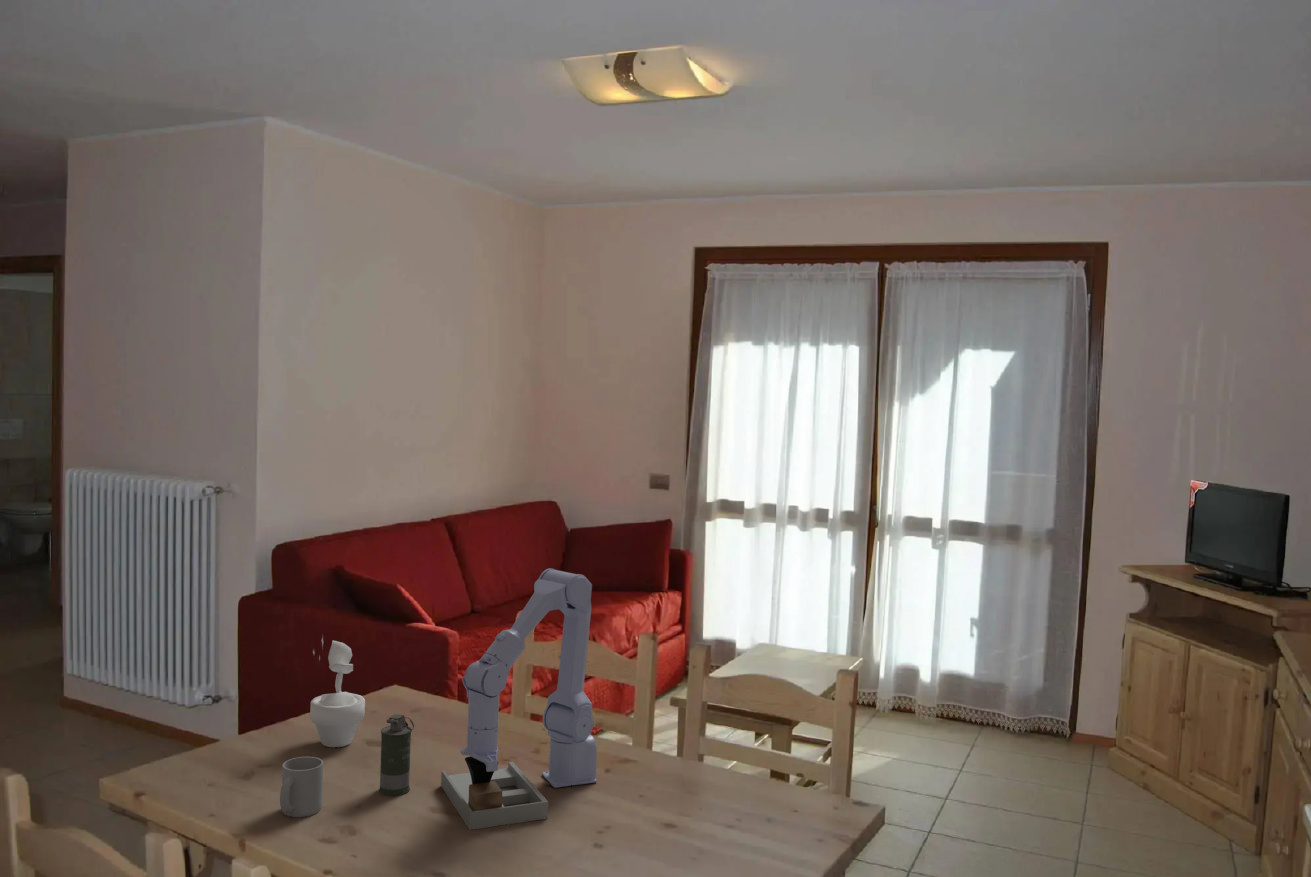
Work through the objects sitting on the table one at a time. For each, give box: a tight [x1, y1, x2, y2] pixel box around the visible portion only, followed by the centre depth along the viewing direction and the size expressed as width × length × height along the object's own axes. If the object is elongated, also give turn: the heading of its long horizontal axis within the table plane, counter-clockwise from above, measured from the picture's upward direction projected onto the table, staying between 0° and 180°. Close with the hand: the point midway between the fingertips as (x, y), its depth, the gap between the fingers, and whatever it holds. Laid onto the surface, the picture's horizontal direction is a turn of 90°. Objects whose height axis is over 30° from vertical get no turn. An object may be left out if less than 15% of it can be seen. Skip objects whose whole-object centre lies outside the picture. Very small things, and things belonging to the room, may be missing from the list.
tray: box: [440, 761, 549, 831], centre depth 200 cm, size 15×22×3 cm
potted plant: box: [309, 635, 366, 748], centre depth 227 cm, size 13×12×25 cm
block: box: [468, 781, 502, 811], centre depth 191 cm, size 5×5×4 cm
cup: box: [279, 756, 324, 818], centre depth 191 cm, size 7×10×9 cm
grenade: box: [378, 713, 415, 797], centre depth 203 cm, size 6×6×15 cm
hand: (480, 795), depth 195 cm, fingers closed
